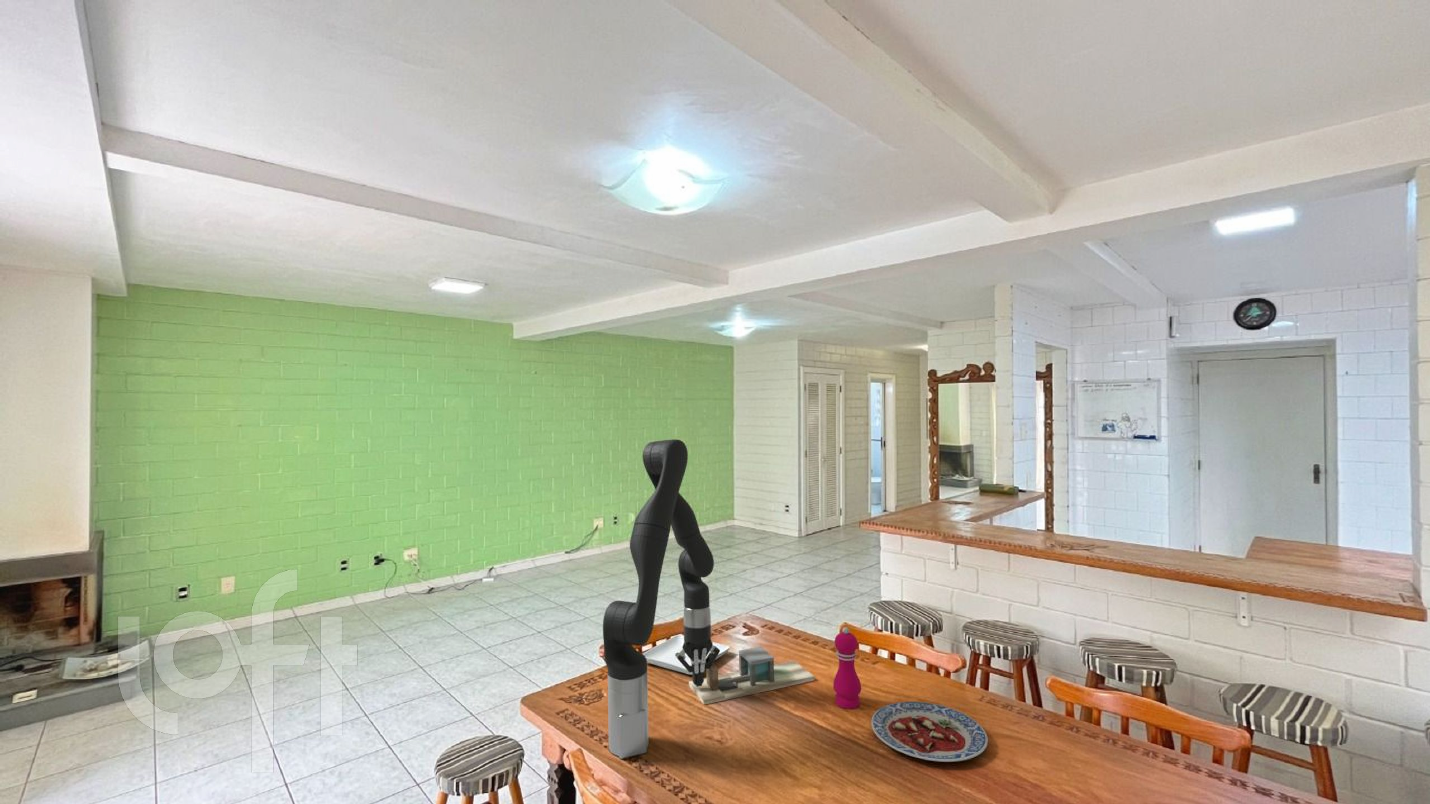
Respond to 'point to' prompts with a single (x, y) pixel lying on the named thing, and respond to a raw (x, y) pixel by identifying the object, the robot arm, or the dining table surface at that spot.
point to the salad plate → (666, 654)
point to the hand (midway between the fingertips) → (698, 685)
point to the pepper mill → (846, 671)
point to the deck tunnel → (753, 677)
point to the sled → (713, 682)
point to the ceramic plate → (929, 731)
